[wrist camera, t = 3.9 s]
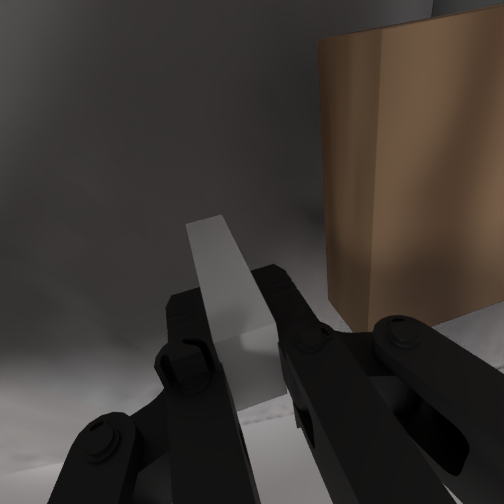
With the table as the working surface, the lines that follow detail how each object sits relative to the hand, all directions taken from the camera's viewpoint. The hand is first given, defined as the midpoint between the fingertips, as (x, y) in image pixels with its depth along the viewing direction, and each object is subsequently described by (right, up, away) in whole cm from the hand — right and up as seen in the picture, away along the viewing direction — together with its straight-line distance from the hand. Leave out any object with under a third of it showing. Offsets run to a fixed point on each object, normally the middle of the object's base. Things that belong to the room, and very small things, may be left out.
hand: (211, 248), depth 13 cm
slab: (+15, +5, +4) cm, 16 cm away
